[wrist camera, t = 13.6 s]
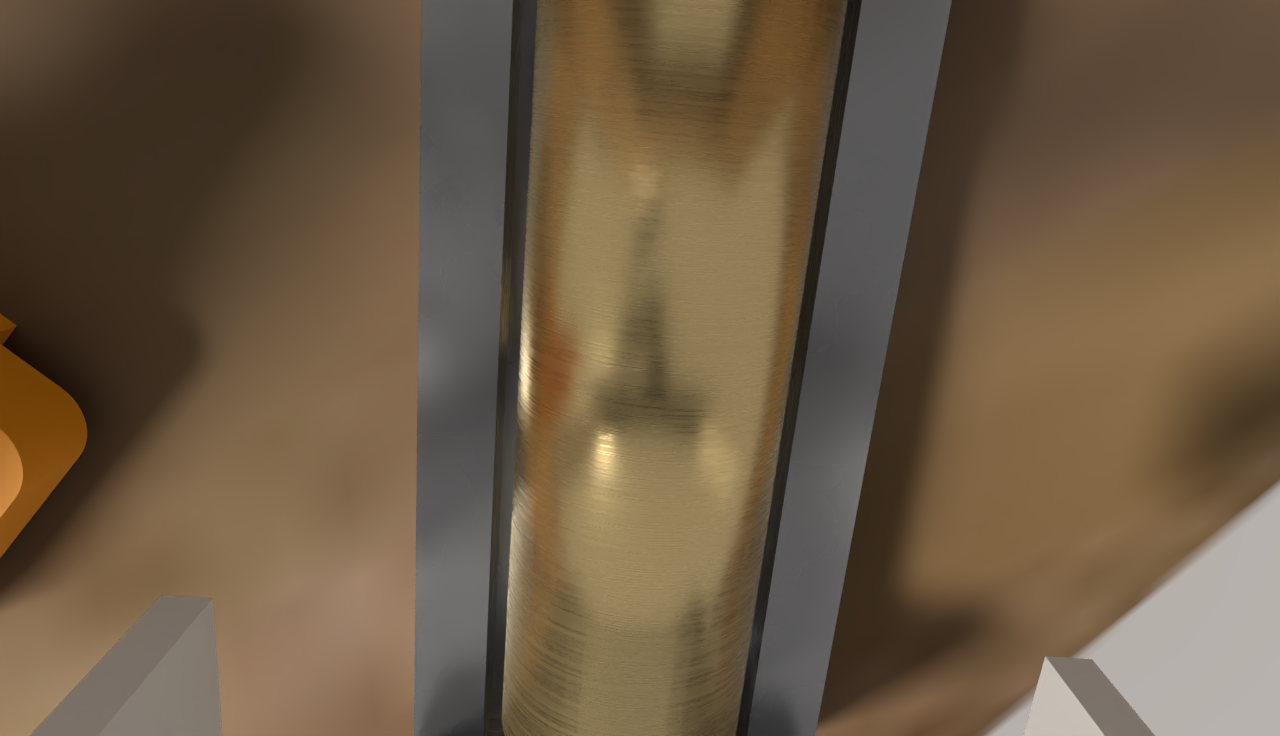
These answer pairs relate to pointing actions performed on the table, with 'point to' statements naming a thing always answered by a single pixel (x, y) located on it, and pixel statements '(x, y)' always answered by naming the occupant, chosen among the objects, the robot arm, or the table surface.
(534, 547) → the axle
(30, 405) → the bracket
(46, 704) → the table surface
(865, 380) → the v block
